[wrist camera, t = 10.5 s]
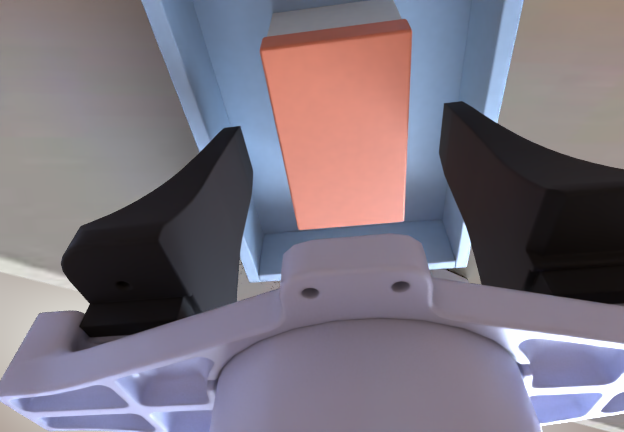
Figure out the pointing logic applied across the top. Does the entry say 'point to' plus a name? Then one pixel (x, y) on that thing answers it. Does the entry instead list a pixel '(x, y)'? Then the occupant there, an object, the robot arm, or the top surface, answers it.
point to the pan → (261, 125)
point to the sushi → (341, 110)
